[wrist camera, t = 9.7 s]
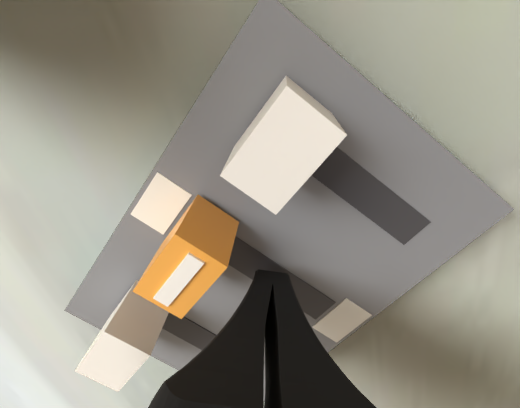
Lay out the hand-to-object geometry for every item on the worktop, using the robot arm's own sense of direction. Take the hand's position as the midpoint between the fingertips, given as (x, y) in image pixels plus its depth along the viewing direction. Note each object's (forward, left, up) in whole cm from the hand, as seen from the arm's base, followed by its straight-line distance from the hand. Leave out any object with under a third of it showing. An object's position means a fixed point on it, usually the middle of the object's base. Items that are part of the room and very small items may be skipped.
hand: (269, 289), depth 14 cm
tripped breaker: (+4, 0, -1) cm, 4 cm away
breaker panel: (+1, 0, -2) cm, 2 cm away
